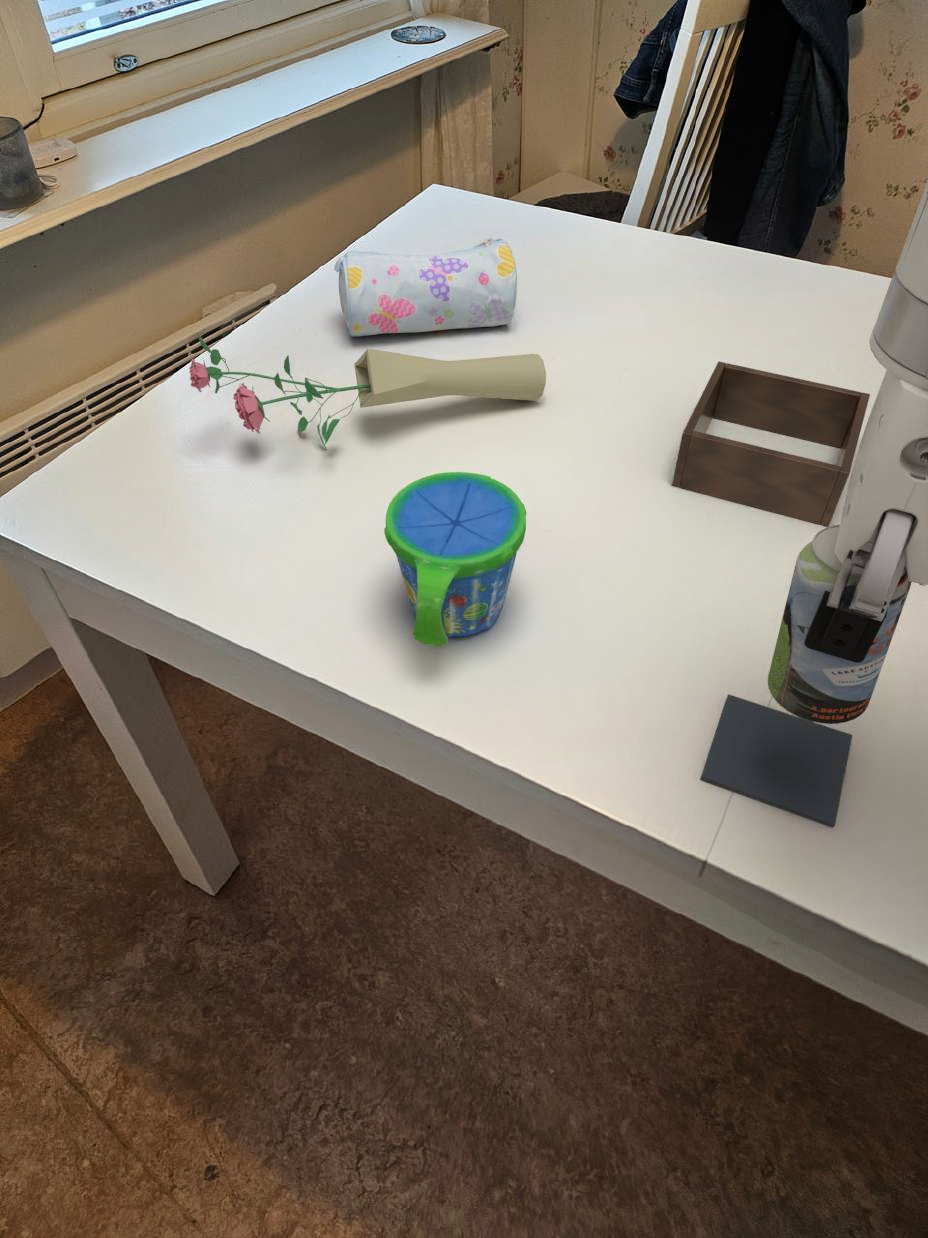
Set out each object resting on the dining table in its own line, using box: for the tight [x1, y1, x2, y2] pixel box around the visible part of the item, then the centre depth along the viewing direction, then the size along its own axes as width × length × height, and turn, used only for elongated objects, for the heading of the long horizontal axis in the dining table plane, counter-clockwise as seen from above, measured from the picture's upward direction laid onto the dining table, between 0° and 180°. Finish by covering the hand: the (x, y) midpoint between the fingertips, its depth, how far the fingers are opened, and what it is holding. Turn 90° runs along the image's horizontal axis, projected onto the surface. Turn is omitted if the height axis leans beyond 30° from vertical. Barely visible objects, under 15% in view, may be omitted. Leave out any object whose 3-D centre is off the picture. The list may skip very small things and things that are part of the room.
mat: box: [700, 693, 853, 828], centre depth 62 cm, size 9×8×1 cm
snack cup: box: [383, 471, 527, 647], centre depth 68 cm, size 16×10×10 cm
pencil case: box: [333, 237, 518, 337], centre depth 101 cm, size 21×9×10 cm, turn 101°
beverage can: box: [767, 523, 913, 725], centre depth 51 cm, size 6×7×12 cm
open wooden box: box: [671, 361, 871, 527], centre depth 83 cm, size 15×14×6 cm
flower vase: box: [188, 333, 547, 451], centre depth 87 cm, size 12×12×35 cm
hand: (842, 609), depth 51 cm, fingers closed on beverage can, 6 cm apart
